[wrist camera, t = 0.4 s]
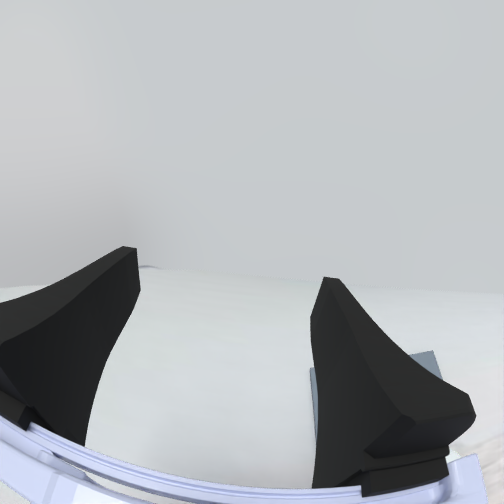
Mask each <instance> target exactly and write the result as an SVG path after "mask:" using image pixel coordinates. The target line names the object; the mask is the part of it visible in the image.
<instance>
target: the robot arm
mask: <svg viewBox="0 0 504 504" xmlns="http://www.w3.org/2000/svg"><path fill="white" fill-rule="evenodd" d="M140 291H141V288H140V279H139V270H138V259H137V249H136V248H131V247H125V246H122V247H120V248H118V249H116V250H114V251H112V252H110V253H109V254H107V255H105V256H103V257H102V258H100V259H98V260H96V261H95V262H93V263H91V264H90V265H88V266H86V267H84V268H83V269H81V270H79V271H77V272H75V273H73V274H71V275H70V276H68V277H66V278H64V279H62V280H60V281H58V282H56V283H54V284H52V285H50V286H47V287H45V288H43V289H41V290H38V291H36V292H33V293H30V294H27V295H24V296H22V297H19V298H16V299H13V300H9V301H6V302H2V303H0V480H1V481H2V482H3V483H4V484H6V485H7V486H8V487H10V488H11V489H12V490H14V491H15V492H17V493H18V494H19V495H21V496H22V497H24V498H25V499H27V500H28V501H30V502H31V503H30V504H156V503H152V502H148V501H145V500H141V499H138V498H134V497H131V496H128V495H125V494H122V493H118V492H115V491H113V490H110V489H107V488H105V487H103V486H101V485H100V484H98V483H96V482H95V481H93V480H92V479H91V478H89V477H88V476H87V475H86V474H85V472H83V471H81V470H79V469H77V468H75V467H73V466H71V465H69V464H72V465H74V466H76V467H78V468H81V469H83V470H85V471H88V472H90V473H93V474H95V475H98V476H100V477H103V478H105V479H108V480H111V481H114V482H116V483H119V484H122V485H125V486H128V487H132V488H135V489H138V490H141V491H145V492H149V493H152V494H156V495H160V496H164V497H168V498H172V499H177V500H182V501H187V502H192V503H197V504H488V498H487V493H486V488H485V484H484V479H483V475H482V471H481V467H480V463H479V459H478V456H477V454H476V453H474V454H471V455H468V456H465V457H462V458H459V459H456V460H453V461H451V462H449V463H447V462H446V458H445V457H446V456H448V455H449V454H450V450H449V446H448V445H449V444H450V443H452V442H453V441H454V440H456V439H457V438H458V437H459V436H461V435H462V434H463V433H464V432H465V431H466V430H468V429H469V428H470V427H471V425H472V424H473V423H474V421H475V418H476V414H475V411H474V408H473V405H472V403H471V400H470V397H469V395H468V394H467V393H465V392H463V391H461V390H459V389H457V388H456V387H454V386H452V385H450V384H448V383H447V382H445V381H443V380H442V379H440V378H439V377H437V376H436V375H434V374H433V373H431V372H430V371H428V370H427V369H425V368H424V367H423V366H421V365H420V364H419V363H418V362H416V361H415V360H414V359H413V358H411V357H410V356H409V355H408V354H406V353H405V352H404V351H403V350H402V349H401V348H400V347H399V346H398V345H397V344H395V343H394V342H393V341H392V340H391V339H390V338H389V337H388V336H387V335H386V334H385V333H384V332H383V331H382V330H381V328H380V327H379V326H378V325H377V324H376V323H375V322H374V321H373V320H372V318H371V317H370V316H369V315H368V314H367V313H366V311H365V310H364V309H363V308H362V306H361V305H360V304H359V303H358V301H357V300H356V299H355V298H354V296H353V295H352V294H351V293H350V291H349V290H348V289H347V288H346V286H345V285H344V284H343V283H342V282H341V281H340V279H337V278H330V277H324V278H323V281H322V284H321V287H320V290H319V293H318V296H317V299H316V302H315V305H314V308H313V311H312V314H311V316H310V331H311V346H312V353H313V360H314V368H315V375H316V383H317V393H318V425H317V445H316V458H315V467H314V475H313V483H312V489H275V488H257V487H245V486H235V485H227V484H219V483H213V482H206V481H200V480H195V479H190V478H185V477H180V476H175V475H171V474H167V473H162V472H158V471H155V470H151V469H147V468H144V467H140V466H137V465H133V464H130V463H127V462H124V461H121V460H118V459H115V458H112V457H109V456H106V455H104V454H101V453H98V452H96V451H93V450H91V449H88V448H86V447H85V440H86V434H87V428H88V423H89V418H90V414H91V409H92V405H93V401H94V398H95V394H96V391H97V387H98V384H99V381H100V378H101V375H102V372H103V369H104V367H105V364H106V361H107V359H108V357H109V355H110V352H111V350H112V349H113V347H114V345H115V343H116V341H117V339H118V337H119V335H120V333H121V332H122V330H123V328H124V326H125V324H126V322H127V320H128V319H129V317H130V315H131V313H132V311H133V309H134V306H135V304H136V301H137V299H138V296H139V293H140ZM62 460H63V461H62ZM64 461H65V462H64ZM66 462H67V463H66ZM68 463H69V464H68Z"/></svg>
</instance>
